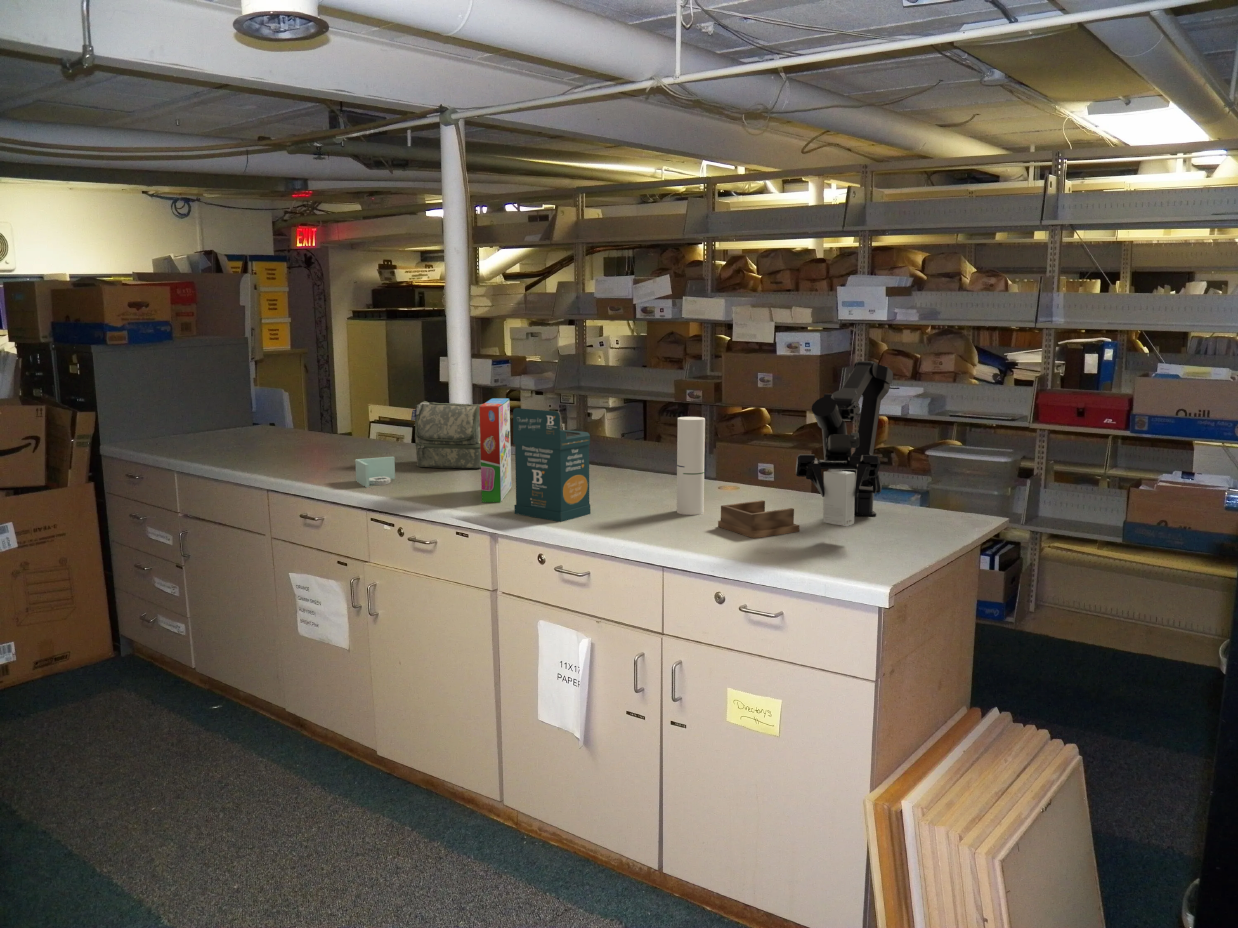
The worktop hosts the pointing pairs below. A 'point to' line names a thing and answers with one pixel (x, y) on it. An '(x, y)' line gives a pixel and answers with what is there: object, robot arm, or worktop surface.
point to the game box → (495, 449)
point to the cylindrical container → (690, 465)
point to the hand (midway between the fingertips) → (839, 496)
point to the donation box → (550, 467)
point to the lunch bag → (447, 435)
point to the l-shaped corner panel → (375, 471)
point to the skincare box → (839, 497)
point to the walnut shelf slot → (757, 519)
